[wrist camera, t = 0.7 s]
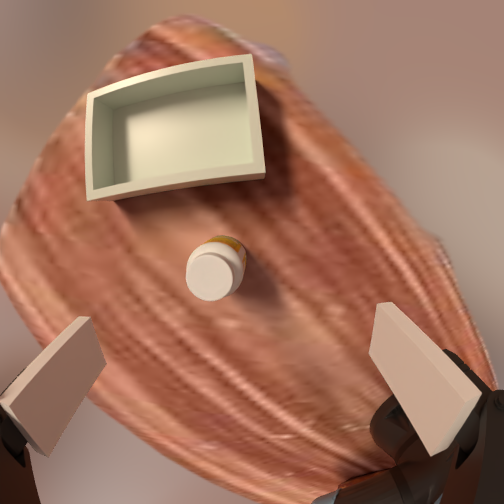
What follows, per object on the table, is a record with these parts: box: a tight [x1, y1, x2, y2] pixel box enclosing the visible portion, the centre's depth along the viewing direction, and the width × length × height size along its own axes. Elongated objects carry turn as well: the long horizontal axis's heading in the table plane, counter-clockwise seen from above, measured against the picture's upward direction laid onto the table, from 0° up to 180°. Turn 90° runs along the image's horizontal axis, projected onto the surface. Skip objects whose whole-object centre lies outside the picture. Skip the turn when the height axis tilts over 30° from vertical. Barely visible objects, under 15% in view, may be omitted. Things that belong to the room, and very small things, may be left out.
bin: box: [85, 54, 266, 201], centre depth 26 cm, size 13×19×6 cm
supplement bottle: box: [186, 236, 247, 301], centre depth 27 cm, size 5×5×10 cm
